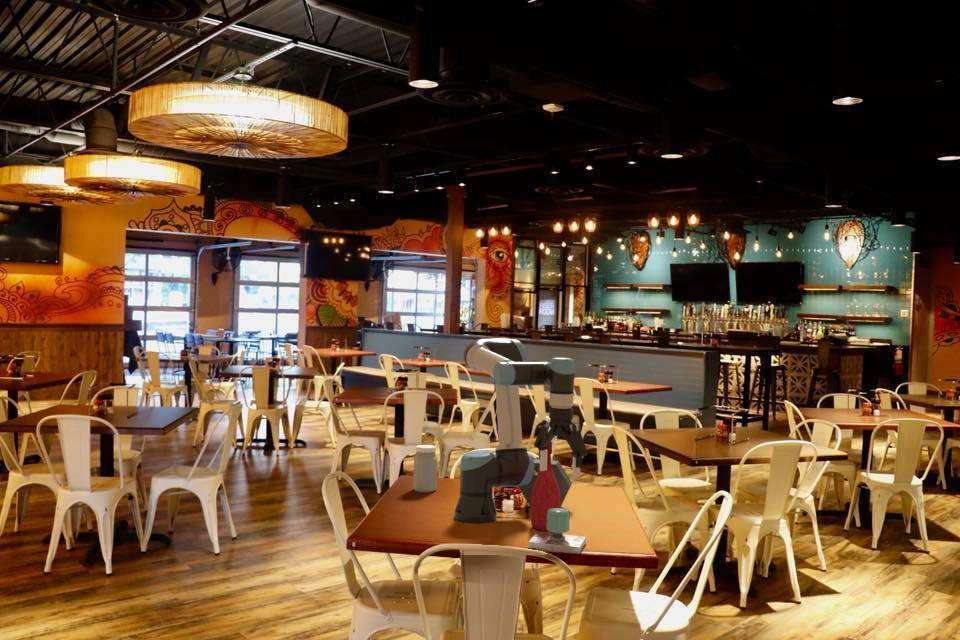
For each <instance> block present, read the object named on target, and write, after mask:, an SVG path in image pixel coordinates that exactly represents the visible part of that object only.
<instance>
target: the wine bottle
mask: <svg viewBox="0 0 960 640" xmlns="http://www.w3.org/2000/svg"><path fill="white" fill-rule="evenodd" d="M546 448H547V449H545V450H548V452H547V470H545V471H540V473H539V475H538V474H537V475H538V477H537V479H536V482H535V484H534V487H533V490H532V497H531V507H530V524H531V527H532V528H533V529H535V530H538V531H541V532H543V531H545V532H546V531H547V532H549V531H548V530H547V513H548V509H552V508H561V507H560V491H559V487H558V484H557V481H556V478H555V476H554V473H553V470H552V465H551V460H552V454H553V442H552V441H551V442H550V443H549V445H548V446H547V447H546Z"/></svg>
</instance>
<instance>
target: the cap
mask: <svg viewBox="0 0 960 640" xmlns="http://www.w3.org/2000/svg"><path fill="white" fill-rule="evenodd" d="M570 515H571V514H570V510H568V509H566V508H561V507H560V508H552V509H548V513H547V530H548V531H547V532H549V533H553V532H555V533H563V534H565V533H567V532H569V531H570Z"/></svg>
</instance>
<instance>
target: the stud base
mask: <svg viewBox="0 0 960 640" xmlns="http://www.w3.org/2000/svg"><path fill="white" fill-rule="evenodd" d="M586 540H587V537H586V536H581V535H569V534H564V533H555V532H543V531H541V532H540V531H536V532H535V533H534V535H533V536H532V537H531V538H530V540H529V541H528V549H532V548H536V549H535V550H542V551H543V550H544V551H550V550H551V552H561V553H562V552H563V553H568V554H570V553H571V554H581V553H582V550H583V549H582V548H584V547H585V545H586V543H587V542H586ZM552 550H553V551H552Z"/></svg>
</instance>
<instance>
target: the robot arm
mask: <svg viewBox="0 0 960 640" xmlns="http://www.w3.org/2000/svg"><path fill="white" fill-rule="evenodd" d="M526 351H527V350H526V348H525V346H524V344H523V343H522V342H521V341H520V340H518V339H514V338H513V339H512V338H478V339H475V340H472V341H471V342H470V343H468V344H467V345H466V346H465V348H464V350H463V354H462V357H463V362H464V363H465V366H467V368H469V369H471V370H473V371H477V372H480V371H482V372H483V373H485V374H488V375H489V376H490V377H491V378H492V379H493V380H494V384H495V385H494V386H495V387H494V388H495V401H496V402H495V403H496V414H497V415H496V417H497V420H496V421H497V431H498V446H497V447H496V448H494V450H495V454H494V452H493V450H489V449H486V450H485V449H484V450H483V449H478V450H477V449H476V450H472V451H469V452H466V453H464V454H463V455H462V456H461V460H460V466H459V470H460V474H459V478H460V479H459V497H458V500H457V502H456V503H457V504H456V505H455V508H454V512H453V513H454V515H453V517H454V519H455V520H457V521H461V522H465V523H474V524H477V523H490V522H494V521H495V520H497V518H498V512H497V508H496V504H495V500H494V498H493V497H494V495H493V491H494V490H493V489H494V488H507V487H515V488H519V487H518V486H523V485H527V484H528V483H529V482H530V481H531V479H532V477H533V473H534V472H535V470H534V459H535V458H534V456H533V454H532V453H530V452H528V447H527V446H526V445H525V444H524V443H523V433H522V430H523V429H522V415H521V404H520V403H521V402H520V389H519V386H549V401H548V402H549V404H548V405H549V406H550V407H549V409H548V418H549V419H542V420H541V427H540V429H539V431H538V435H537V437H536V439H535V441H534V444H533V447H535V448H536V449H537V450H538V459H539V460H540V471H545V470H547V452H548V450H545V449H547V448H546V447H547V446H548V445H549V443H550V442H551V441H552V440H553V439H554V438H555V437H560V438H563V439H564V440H566V442H567V443H568V445H569V448H570V450H571V451H572V453H573V455H574V456H573V457H572V473H571V474H572V479H577V478H580V477H581V468H582V467H583V466H582V465H583V457H585V456H588V453H589V452H588V449H587V447H586V444H585V442H584V438H583V436H582V431H581V425H580V424H579V423H577V424H573V423H572V420H573V419H574V408H573V407H574V390H575V389H574V388H575V372H576V370H575V361H574V359H573V358H570V357H553V358H551V359H550V361H548V360H547V361H528V359H527V358H528V356H527V352H526Z"/></svg>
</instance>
